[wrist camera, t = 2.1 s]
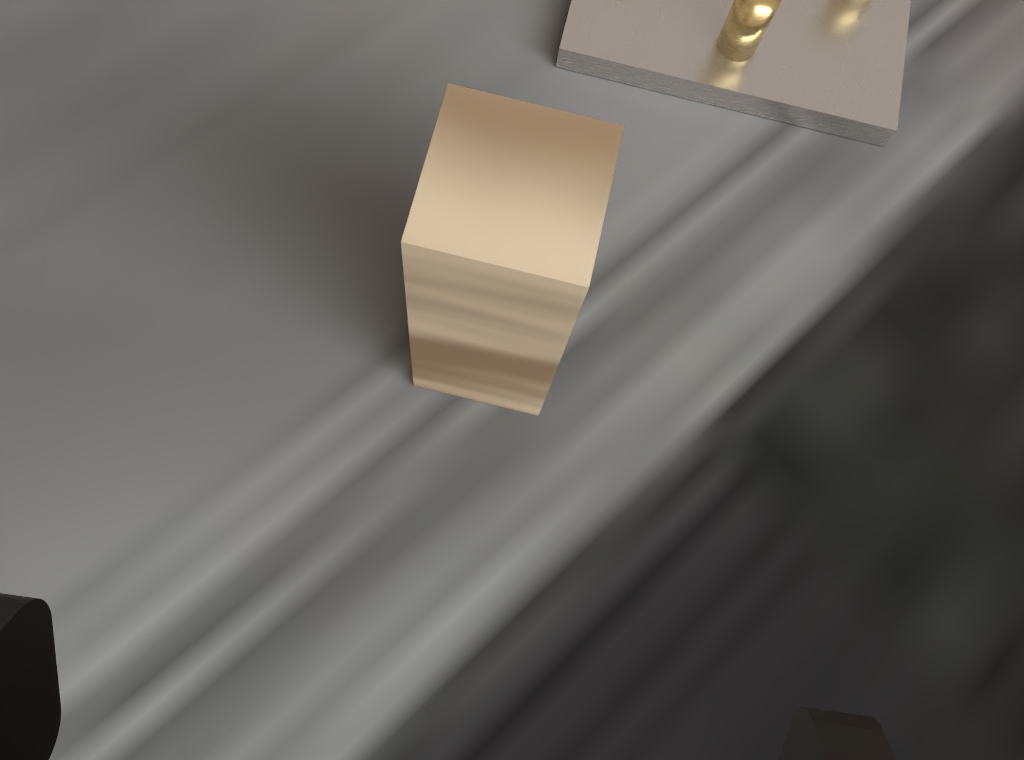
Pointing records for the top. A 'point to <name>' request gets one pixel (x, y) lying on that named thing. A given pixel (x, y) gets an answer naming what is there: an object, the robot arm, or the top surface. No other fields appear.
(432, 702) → the top surface
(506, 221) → the block
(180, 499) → the top surface
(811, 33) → the plate
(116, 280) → the top surface
